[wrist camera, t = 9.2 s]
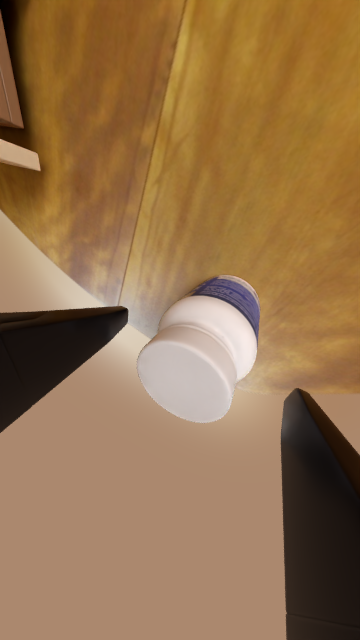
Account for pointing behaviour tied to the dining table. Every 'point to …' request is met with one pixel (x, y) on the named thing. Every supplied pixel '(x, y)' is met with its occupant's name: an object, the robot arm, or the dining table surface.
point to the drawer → (11, 112)
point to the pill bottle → (202, 349)
